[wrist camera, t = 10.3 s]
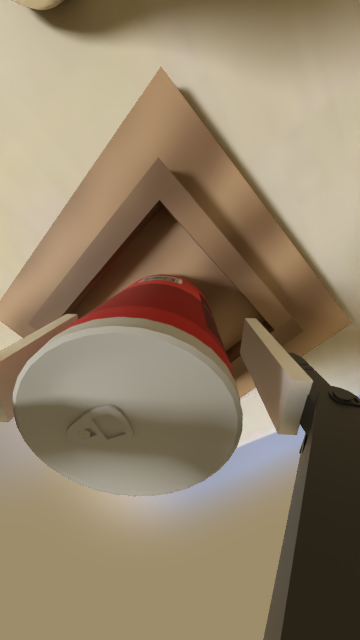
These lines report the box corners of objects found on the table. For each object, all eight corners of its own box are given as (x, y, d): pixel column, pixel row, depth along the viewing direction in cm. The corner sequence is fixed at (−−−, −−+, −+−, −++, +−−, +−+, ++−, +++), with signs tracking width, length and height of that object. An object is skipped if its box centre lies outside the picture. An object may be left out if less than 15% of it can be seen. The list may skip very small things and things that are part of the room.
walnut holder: (5, 308, 19) (-33, 322, 16) (164, 86, 13) (155, 31, 10) (168, 434, 24) (165, 464, 21) (338, 316, 18) (372, 332, 14)
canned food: (100, 311, 17) (-36, 413, 7) (171, 250, 15) (132, 260, 5) (158, 371, 19) (121, 522, 9) (228, 324, 17) (289, 446, 7)
